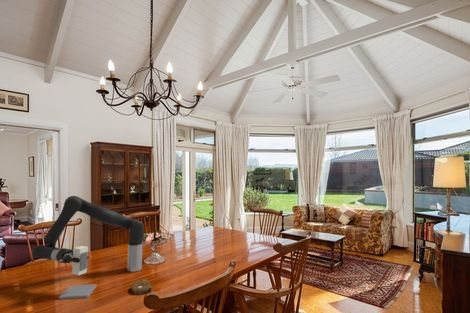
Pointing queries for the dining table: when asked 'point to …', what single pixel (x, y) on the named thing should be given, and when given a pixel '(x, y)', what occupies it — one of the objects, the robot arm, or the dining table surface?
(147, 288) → the decorative rock
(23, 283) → the dining table surface
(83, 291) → the slate tile
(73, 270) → the off-white rectangular block
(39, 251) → the robot arm
